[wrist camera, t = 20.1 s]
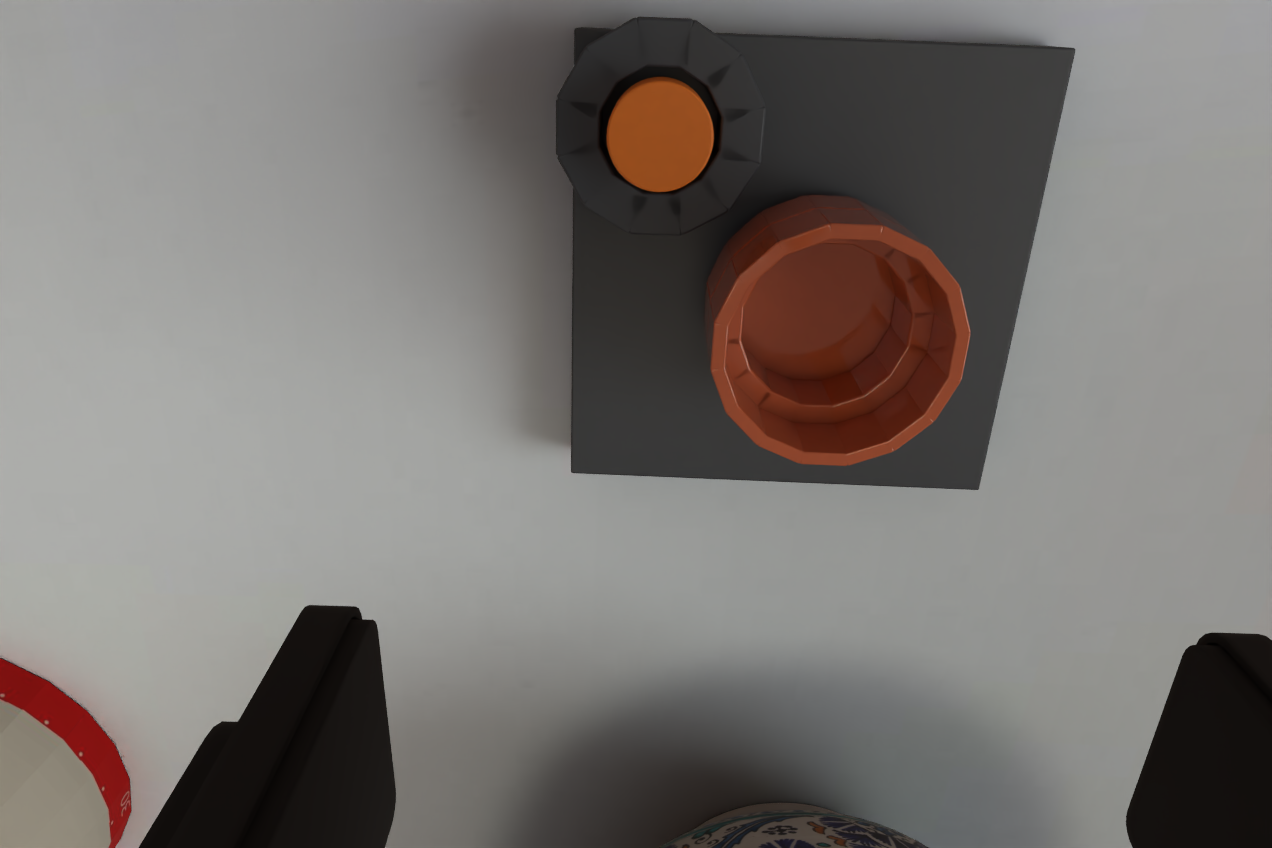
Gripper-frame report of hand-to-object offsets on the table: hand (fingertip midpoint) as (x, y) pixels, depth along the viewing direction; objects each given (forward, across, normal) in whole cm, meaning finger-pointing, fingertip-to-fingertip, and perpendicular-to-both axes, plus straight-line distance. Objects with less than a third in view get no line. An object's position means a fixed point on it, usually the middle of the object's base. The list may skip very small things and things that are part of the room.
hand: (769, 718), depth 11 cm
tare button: (+18, +1, -4) cm, 19 cm away
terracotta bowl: (+19, -4, +1) cm, 19 cm away
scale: (+21, -3, 0) cm, 21 cm away
